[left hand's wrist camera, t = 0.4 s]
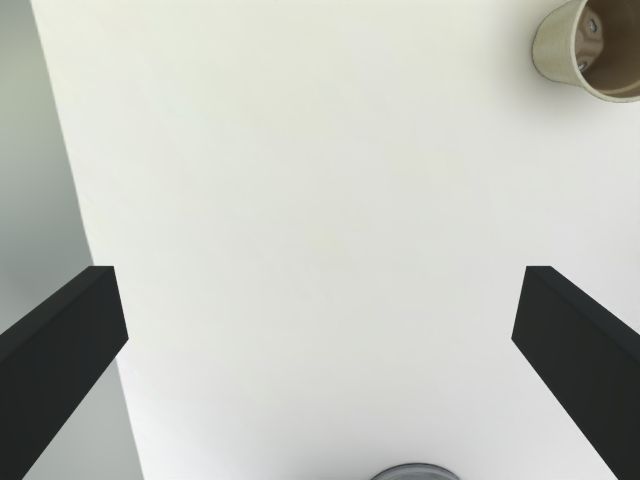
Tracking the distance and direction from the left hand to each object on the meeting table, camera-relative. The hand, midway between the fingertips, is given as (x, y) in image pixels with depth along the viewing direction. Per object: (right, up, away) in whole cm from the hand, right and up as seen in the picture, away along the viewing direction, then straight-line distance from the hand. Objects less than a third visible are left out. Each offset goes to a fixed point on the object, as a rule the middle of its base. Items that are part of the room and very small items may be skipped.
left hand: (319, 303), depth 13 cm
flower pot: (+22, +20, +22) cm, 37 cm away
